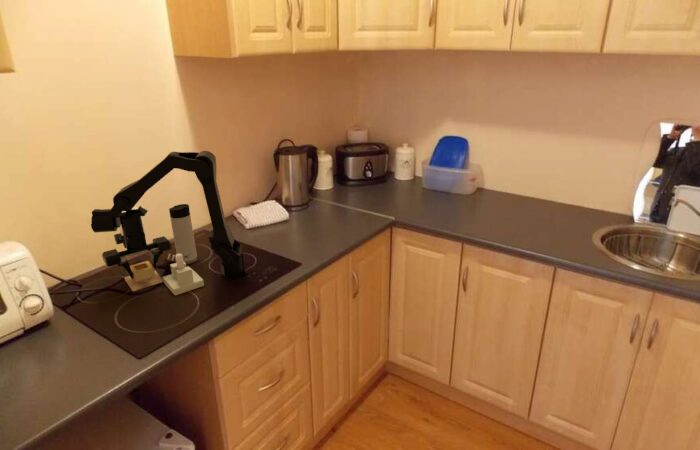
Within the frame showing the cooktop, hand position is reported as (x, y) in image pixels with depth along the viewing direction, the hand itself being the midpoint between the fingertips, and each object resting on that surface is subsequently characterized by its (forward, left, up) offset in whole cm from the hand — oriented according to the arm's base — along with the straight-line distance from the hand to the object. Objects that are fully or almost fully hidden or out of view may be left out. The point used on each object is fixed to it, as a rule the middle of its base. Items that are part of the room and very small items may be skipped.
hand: (142, 275), depth 144 cm
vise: (-9, +10, -2) cm, 14 cm away
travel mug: (-16, -5, -2) cm, 17 cm away
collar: (0, 0, 0) cm, 0 cm away
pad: (0, 0, -2) cm, 2 cm away
